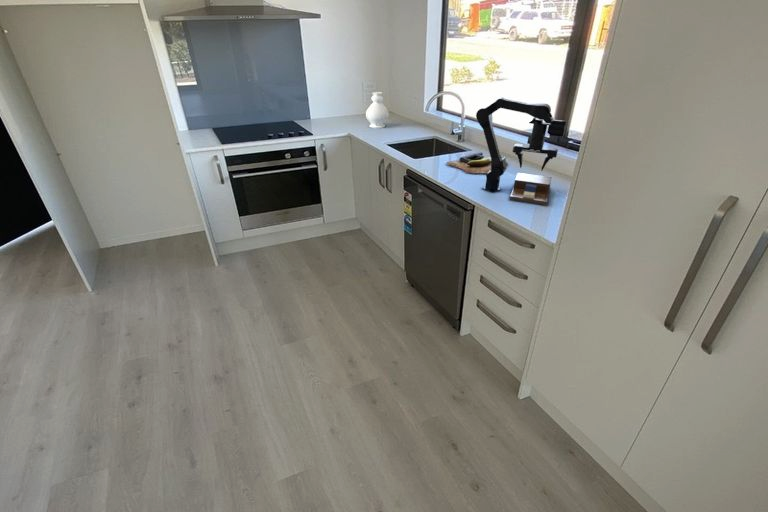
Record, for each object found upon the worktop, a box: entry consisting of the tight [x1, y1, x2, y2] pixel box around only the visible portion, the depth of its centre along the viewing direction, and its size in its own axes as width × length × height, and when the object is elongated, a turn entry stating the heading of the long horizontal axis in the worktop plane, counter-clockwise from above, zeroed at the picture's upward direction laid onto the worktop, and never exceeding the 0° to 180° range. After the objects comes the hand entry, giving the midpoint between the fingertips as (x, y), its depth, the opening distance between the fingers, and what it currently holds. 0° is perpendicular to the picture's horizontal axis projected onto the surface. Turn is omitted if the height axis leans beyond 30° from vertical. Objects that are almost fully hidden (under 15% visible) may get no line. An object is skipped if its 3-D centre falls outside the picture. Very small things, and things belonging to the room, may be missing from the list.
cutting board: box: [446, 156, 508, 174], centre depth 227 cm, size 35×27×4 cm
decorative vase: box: [365, 91, 390, 129], centre depth 309 cm, size 18×18×25 cm
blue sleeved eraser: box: [523, 184, 537, 198], centre depth 182 cm, size 9×5×4 cm, turn 157°
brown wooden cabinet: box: [509, 172, 552, 207], centre depth 188 cm, size 24×16×6 cm, turn 157°
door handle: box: [458, 151, 491, 163], centre depth 233 cm, size 3×20×16 cm
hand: (531, 169), depth 182 cm, fingers open, 9 cm apart
